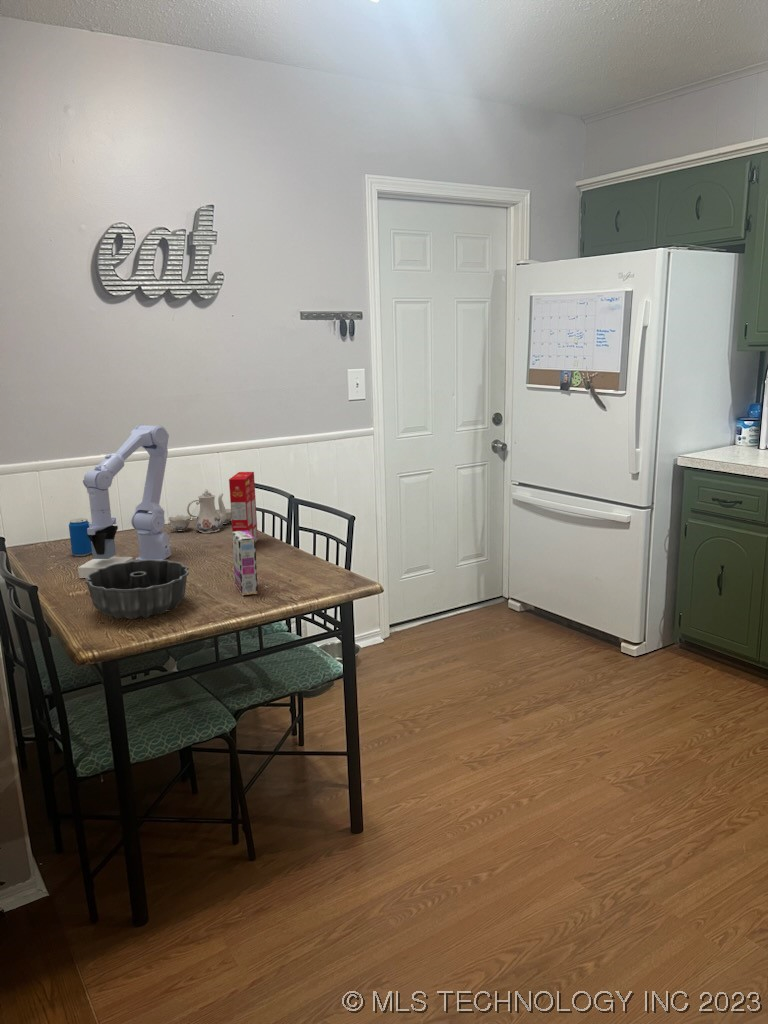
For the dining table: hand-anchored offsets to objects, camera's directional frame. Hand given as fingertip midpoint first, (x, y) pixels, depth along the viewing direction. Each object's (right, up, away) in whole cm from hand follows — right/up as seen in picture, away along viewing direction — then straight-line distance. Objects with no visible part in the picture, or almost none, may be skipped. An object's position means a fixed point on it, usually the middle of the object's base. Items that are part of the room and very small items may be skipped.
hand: (104, 551), depth 233 cm
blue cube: (0, -2, 0) cm, 2 cm away
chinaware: (+18, +5, +55) cm, 59 cm away
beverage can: (-16, -2, +23) cm, 28 cm away
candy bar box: (+47, -10, -17) cm, 51 cm away
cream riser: (0, -7, +2) cm, 7 cm away
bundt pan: (+21, -14, -31) cm, 40 cm away
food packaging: (+38, 0, +30) cm, 49 cm away
